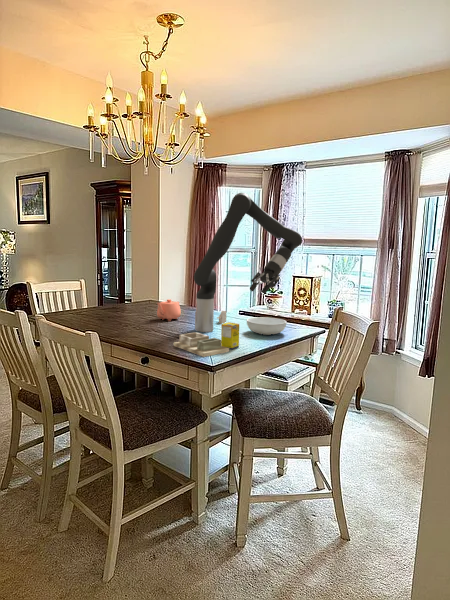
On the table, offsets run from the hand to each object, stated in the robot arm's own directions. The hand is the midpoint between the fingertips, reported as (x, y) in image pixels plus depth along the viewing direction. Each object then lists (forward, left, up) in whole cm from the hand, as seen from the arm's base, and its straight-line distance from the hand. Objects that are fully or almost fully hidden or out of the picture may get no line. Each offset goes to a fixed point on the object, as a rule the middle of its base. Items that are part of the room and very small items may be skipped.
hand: (257, 291), depth 194 cm
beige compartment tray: (-6, -28, -25) cm, 38 cm away
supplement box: (0, -16, -25) cm, 29 cm away
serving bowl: (-11, +19, -25) cm, 33 cm away
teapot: (-69, -4, -25) cm, 74 cm away
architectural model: (-44, +17, -25) cm, 54 cm away
